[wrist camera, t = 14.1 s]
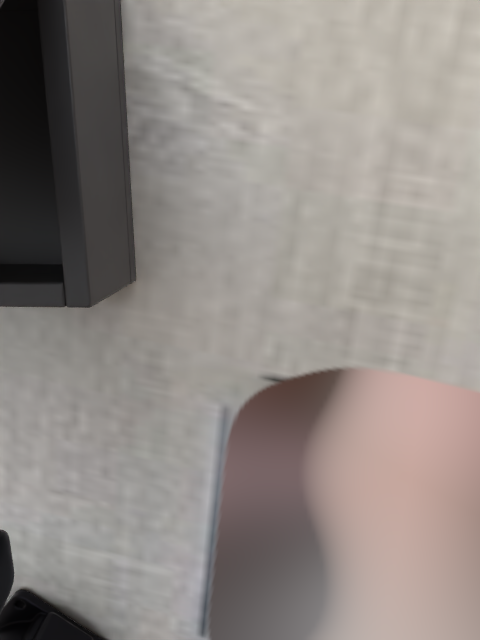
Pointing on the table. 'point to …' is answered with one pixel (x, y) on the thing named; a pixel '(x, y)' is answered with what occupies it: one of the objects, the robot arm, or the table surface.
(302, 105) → the table surface
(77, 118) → the black box
